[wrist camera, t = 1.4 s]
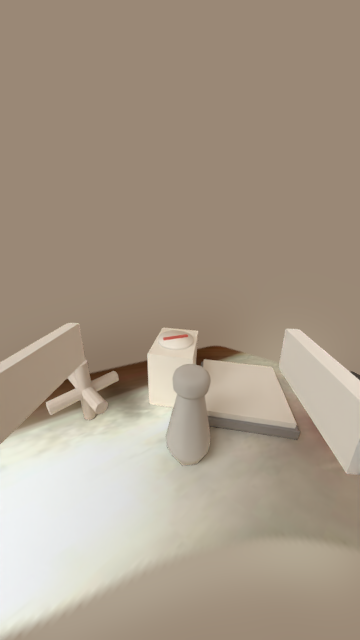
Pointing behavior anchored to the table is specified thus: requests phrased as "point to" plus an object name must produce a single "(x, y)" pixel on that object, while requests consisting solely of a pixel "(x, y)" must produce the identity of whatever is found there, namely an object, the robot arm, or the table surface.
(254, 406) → the dial scale
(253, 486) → the table surface
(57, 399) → the pipe connector
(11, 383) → the robot arm
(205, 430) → the salt shaker
